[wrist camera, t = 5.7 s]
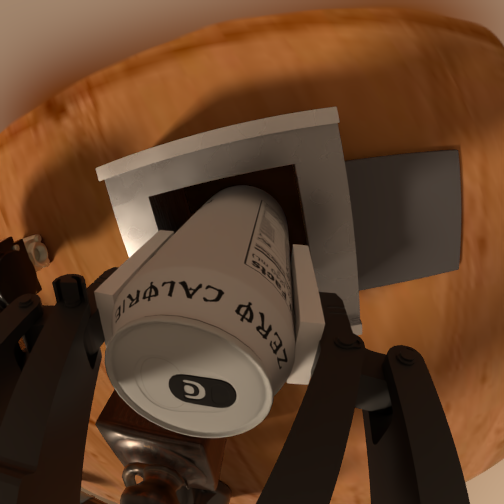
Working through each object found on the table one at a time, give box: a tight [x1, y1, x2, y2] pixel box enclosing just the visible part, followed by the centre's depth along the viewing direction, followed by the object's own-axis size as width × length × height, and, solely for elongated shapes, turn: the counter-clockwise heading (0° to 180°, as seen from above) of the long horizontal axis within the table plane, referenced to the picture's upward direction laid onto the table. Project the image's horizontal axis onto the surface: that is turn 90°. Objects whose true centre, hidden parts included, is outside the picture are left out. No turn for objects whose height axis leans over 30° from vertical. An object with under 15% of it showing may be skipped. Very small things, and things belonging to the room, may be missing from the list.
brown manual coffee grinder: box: [95, 390, 227, 504], centre depth 21 cm, size 16×11×18 cm
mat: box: [345, 150, 461, 290], centre depth 21 cm, size 10×10×1 cm
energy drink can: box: [105, 185, 295, 438], centre depth 14 cm, size 6×6×15 cm
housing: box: [96, 107, 362, 335], centre depth 19 cm, size 13×13×7 cm
